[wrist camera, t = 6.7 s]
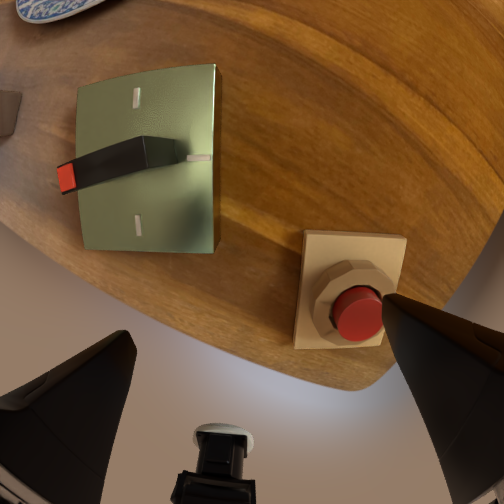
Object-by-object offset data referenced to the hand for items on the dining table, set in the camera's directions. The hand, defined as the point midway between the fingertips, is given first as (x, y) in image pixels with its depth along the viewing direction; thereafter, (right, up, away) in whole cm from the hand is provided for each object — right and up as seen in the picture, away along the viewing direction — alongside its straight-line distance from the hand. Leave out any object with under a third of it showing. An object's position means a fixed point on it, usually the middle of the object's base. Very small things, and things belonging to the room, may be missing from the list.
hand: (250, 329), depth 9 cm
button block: (+8, -1, +13) cm, 15 cm away
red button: (+8, -2, +10) cm, 13 cm away
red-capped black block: (-7, +8, +7) cm, 13 cm away
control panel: (-7, +9, +10) cm, 15 cm away
